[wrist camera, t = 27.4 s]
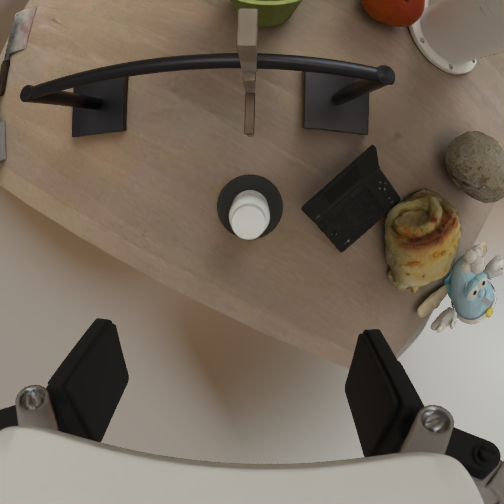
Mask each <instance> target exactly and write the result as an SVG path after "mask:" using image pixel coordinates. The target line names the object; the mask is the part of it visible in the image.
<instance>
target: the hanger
mask: <svg viewBox="0 0 504 504" xmlns="http://www.w3.org/2000/svg"><path fill="white" fill-rule="evenodd" d="M257 39H258V9H238V25H237V49H238V54H239V59H240V64H241V69H242V72H243V83H244V88H245V126H244V134H245V135H247V136H248V137H253V135H254V117H255V83H256V72H257Z"/></svg>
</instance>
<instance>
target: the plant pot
mask: <svg viewBox="0 0 504 504" xmlns="http://www.w3.org/2000/svg"><path fill="white" fill-rule="evenodd" d="M230 1H231V3H232V4H233V6H234V7H235V9H236V10H237V12H238V9H258V26H262V27H269V26H275V25H279V24H281V23H283V22H284V21H286V20H287V19H288V18H289V17H290V16H291V15H292V14H293V12H294V11H295V10H296V8H297V7H298V5H299V4H300V3H301V2H302V0H230Z"/></svg>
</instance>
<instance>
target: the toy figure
mask: <svg viewBox="0 0 504 504" xmlns="http://www.w3.org/2000/svg"><path fill="white" fill-rule="evenodd" d="M486 251H487V247H486V245H485V243H484V242H482V243H480V244H479V245H478V246H477V245H475V246H473V247H472V248H471V249H468V250H467V251H466V252H465V255H463V256H462V257H461V258H459V259H458V260H457V261H456V262H455V263H454V265H453V268H452V272H451V273H450V274H449V275H448V277H447V278H446V279H445V280H444V286H442V287H440V288H439V289H438V290H437V291H435V292H434V293H431V294H430V295H429V296H428V298H427V299H426V300H425V301H424V302H423V303H422V304H421V305H420V306H419V308H418V309H417V312H418V315H419V316H420V317H421V318H423V317H425V316H427V315H428V314H429V313H430V312H432V311H433V310H434V309H435V308H437V307H438V306H439V304H440V302H441V301H442V300H443V298H444V297H445V296H446V294H447V293H448V295H449V297H450V298H451V300H452V301H451V303H452V307H453V305H454V307H453V309H452V308H450V307H449V308H448V309H446V310H445V311H443V312H442V313H441V314H440V315H439V316H438V317H437V318H436V320H435V321H434V322H433V323H432V325H431V329H432V330H437V332H441V331H442V330H443V329H444V328H446V327H447V326H449V325H450V328H451V329H453V328H454V327H455V324H456V318H457V317H458V318H459V319H460V320H461V321H462V322H464V323H467V324H476V323H479V322H480V321H482V320H484V319H485V318H486V317H490V316H491V315H492V313H493V308H494V306H495V304H496V300H497V296H496V292H495V289H494V287H493V286H492V284H491V283H490V282H489V281H488V279H492V278H494V277H496V276H500V275H502V274H503V273H504V270H503V268H501V266H502V265H503V264H504V258H501V256H500V255H497V256H495V257H494V258H493V259H492V260H491V261H490V262H489V263H488V264H487V266H486V267H485V261H484V259H483V257H484V255H485V254H486ZM484 267H485V269H484ZM500 268H501V269H500ZM482 271H483V272H482ZM493 289H494V291H493ZM494 292H495V299H494ZM454 308H455V310H456V311H455V310H454Z"/></svg>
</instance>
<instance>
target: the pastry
mask: <svg viewBox="0 0 504 504" xmlns="http://www.w3.org/2000/svg"><path fill="white" fill-rule="evenodd" d="M384 224H385V236H384V247H385V256H386V260H387V263H388V266H389V267H390V269H389V270H388V272H387V273H388V279H389V280H390V282H392V284H393V285H394V286H395V287H396V288H398V289H400V290H401V291H405V290H406V289H408V290H409V291H411V292H413V293H414V294H416V293H417V291H418V289H419V288H421V287H423V286H425V285H428V284H429V283H432V281H437V280H439V279H441V278H442V277H443V276H445V275H446V274H447V273H448V271H449V270H450V267H451V265H452V263H453V261H454V259H455V256H456V253H457V249H458V243H459V240H460V236H461V227H460V220H459V215H458V212H457V211H456V209H455V208H454V207H453V206H452V205H450V204H449V203H448V202H447V201H446V200H445V199H443V198H441V197H440V196H439V194H438V193H433V192H431V191H429V190H424V189H423V190H421V191H420V192H416V193H415V194H412V195H411V197H410V198H408V199H404V200H403V201H402V202H401V203H399V204H397V205H395V206H394V207H393V208H392V209H391V210H390V211H389V213H388V214H387V216H386V219H385V223H384Z"/></svg>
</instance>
